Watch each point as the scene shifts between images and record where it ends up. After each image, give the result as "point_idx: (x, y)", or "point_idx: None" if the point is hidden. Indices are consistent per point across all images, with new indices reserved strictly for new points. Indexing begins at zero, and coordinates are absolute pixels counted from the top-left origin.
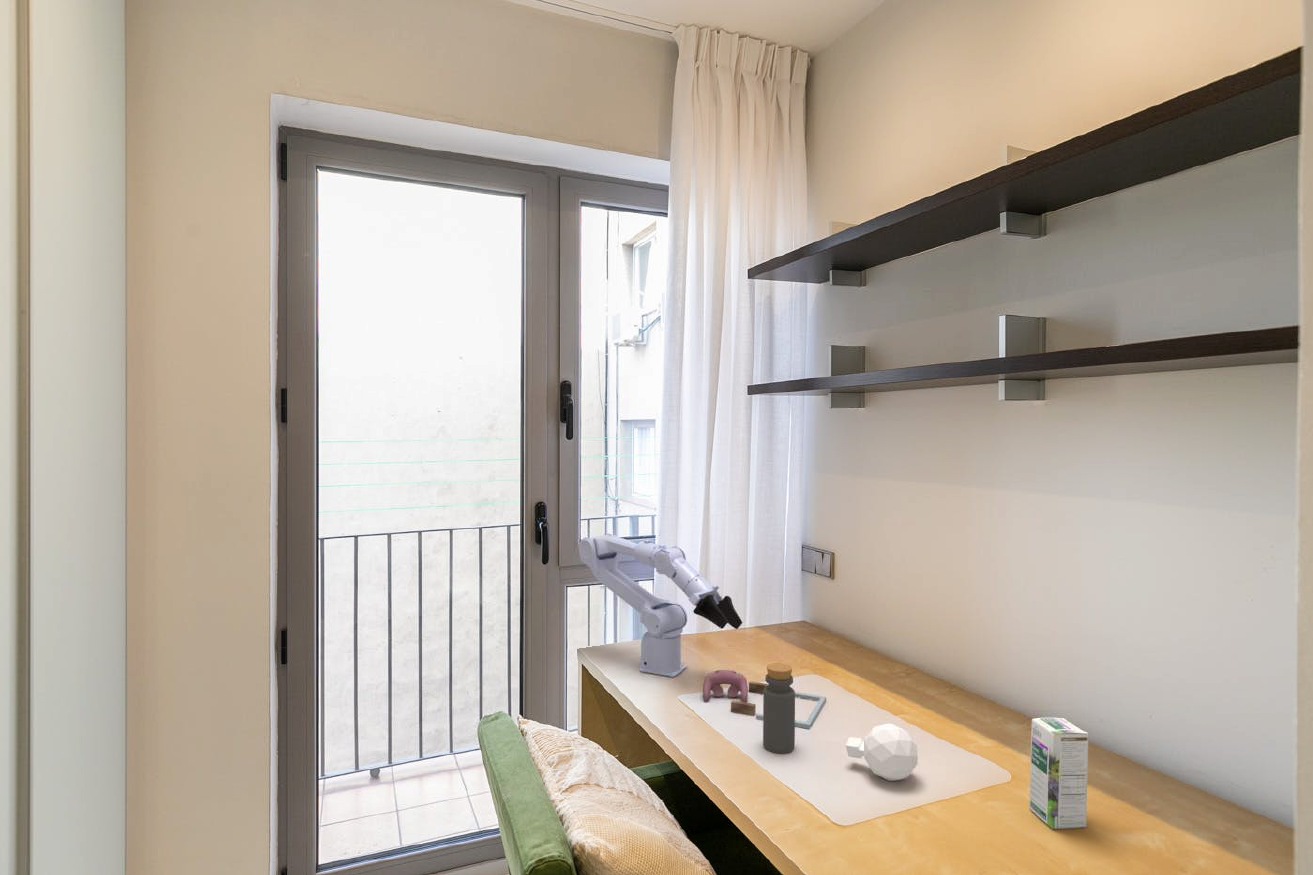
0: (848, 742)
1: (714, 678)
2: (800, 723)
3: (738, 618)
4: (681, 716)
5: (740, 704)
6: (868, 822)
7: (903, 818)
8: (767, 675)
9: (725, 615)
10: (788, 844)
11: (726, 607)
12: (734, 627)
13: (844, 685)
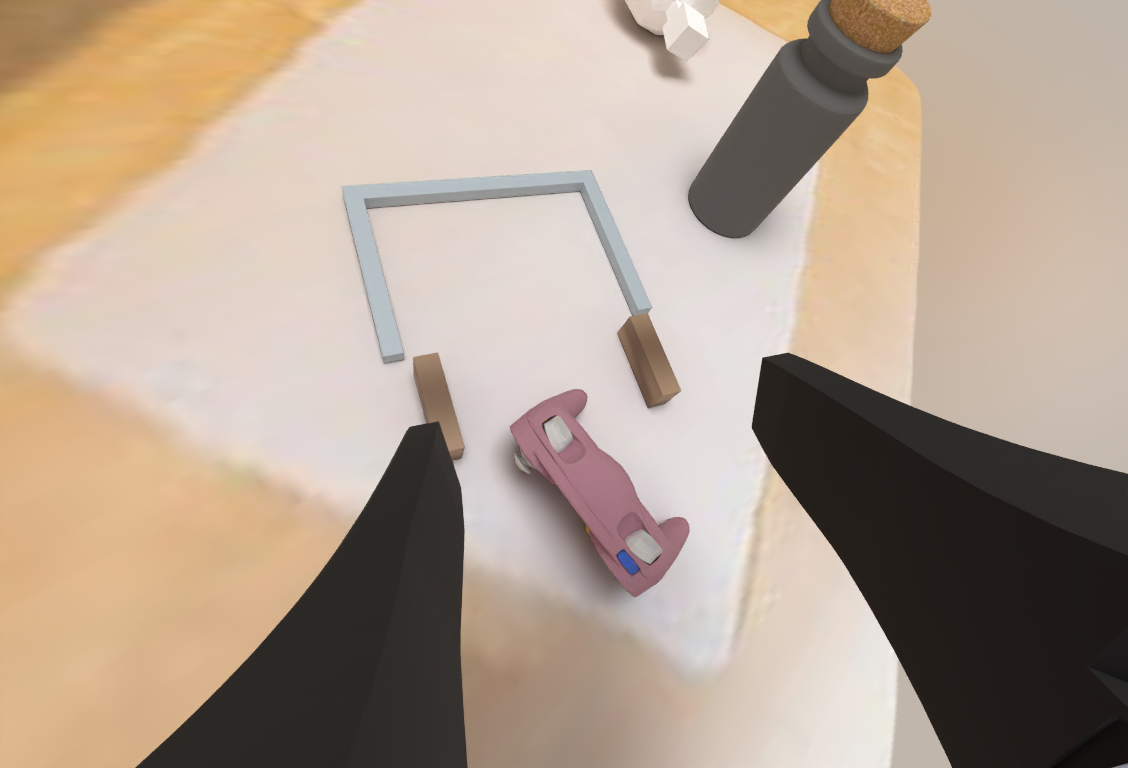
0: (701, 31)
1: (652, 517)
2: (600, 191)
3: (432, 454)
4: None
5: (664, 358)
6: (792, 40)
7: (745, 6)
8: (892, 54)
9: (447, 666)
10: (914, 109)
11: (412, 696)
12: (462, 506)
13: (108, 182)
